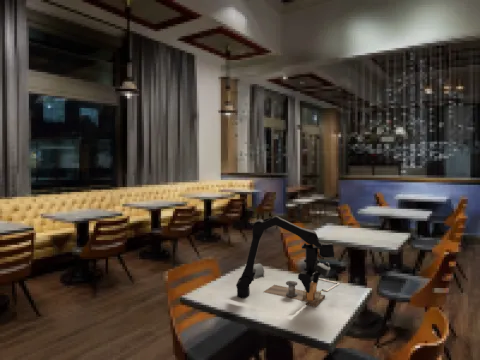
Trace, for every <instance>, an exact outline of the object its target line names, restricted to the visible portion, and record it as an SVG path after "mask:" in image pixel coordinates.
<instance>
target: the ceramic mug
mask: <svg viewBox="0 0 480 360" xmlns="http://www.w3.org/2000/svg"><path fill="white" fill-rule="evenodd" d="M254 269H256V273H255V278H254V279H257V280H258V279H259V278H258V277H262V278H264V279H265V269H264V266H263V265H262V263H256V264H254Z"/></svg>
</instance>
